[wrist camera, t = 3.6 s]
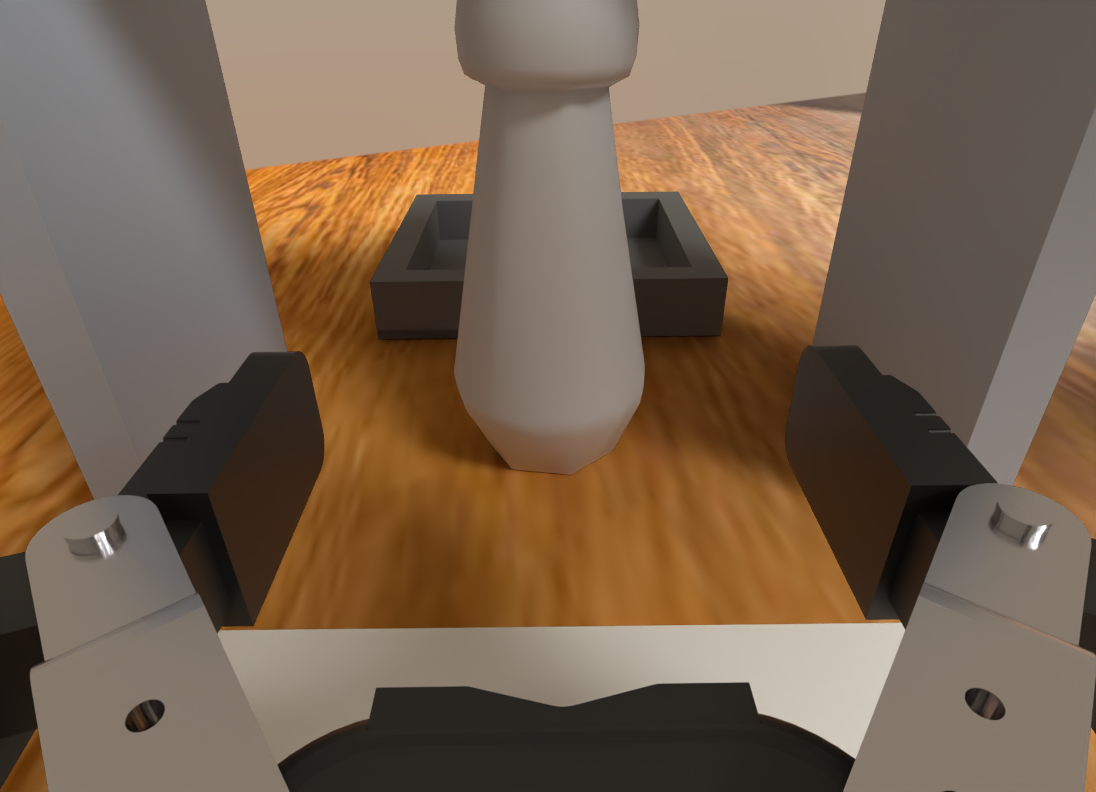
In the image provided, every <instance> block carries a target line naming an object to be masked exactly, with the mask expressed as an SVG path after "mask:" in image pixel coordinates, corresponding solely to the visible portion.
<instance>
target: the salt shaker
mask: <svg viewBox="0 0 1096 792" xmlns="http://www.w3.org/2000/svg"><path fill="white" fill-rule="evenodd" d="M638 33H639V18H638V8H637V0H457V6H456V18H455V35H456V43H457V52H458V59H459V62H460V64H461V67H462V70H463V72H464V74H465V75H467V76H468V77H470V78H471V79H473V80H476V81H478V82H480V83H482V84H484V85H485V92H484V101H483V110H482V119H481V129H480V138H479V147H478V156H477V165H476V175H475V184H474V193H473V202H472V211H471V220H470V230H469V239H468V248H467V257H466V266H465V276H464V285H463V294H462V303H461V312H460V322H459V331H458V340H457V349H456V358H455V368H454V376H455V380H456V384H457V387H458V390H459V393H460V396H461V398H462V401H463V404H464V406H465V409H466V411H467V412H468V414H469V415H470V416H471V418H472V419H473V420H474V422H475V423H476V424H477V426H478V427H479V428H480V430H481V431H482V432H483V434H484V436H485V437H486V439H487V440H488V442H489V443H490V444H491V445H492V446H493V447H494V449H495V450H496V451H497V452H498V453H499V455H500V456H501V457H502V458H503V459H504V461H505V462H506V463H507V464H508V465H509V467H510V468H511V469H513V470H524V471H534V472H545V473H555V474H566V475H572V474H574V473H575V472H577V471H579V470H581V469H582V468H584V467H586V466H587V465H589V464H591V463H592V462H594V461H596V460H598V459H599V458H601V457H603V456H604V455H606V454H608V453H610V452H611V451H613V449H614V448H615V446H616V444H617V442H618V441H619V439H620V437H621V435H622V434H623V432H624V430H625V428H626V427H627V425H628V423H629V421H630V420H631V418H632V416H633V414H634V413H635V411H636V409H637V407H638V406H639V404H640V400H641V396H642V392H643V387H644V374H645V362H644V355H643V348H642V341H641V334H640V327H639V320H638V313H637V306H636V299H635V292H634V285H633V278H632V271H631V263H630V256H629V249H628V242H627V235H626V228H625V221H624V214H623V207H622V198H621V190H620V181H619V173H618V164H617V155H616V147H615V138H614V129H613V121H612V112H611V103H610V95H609V87H610V86H612V85H613V84H615V83H617V82H619V81H621V80H622V79H624V78H626V77H628V76H629V75H630V72H631V69H632V67H633V63H634V61H635V58H636V53H637V43H638Z"/></svg>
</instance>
